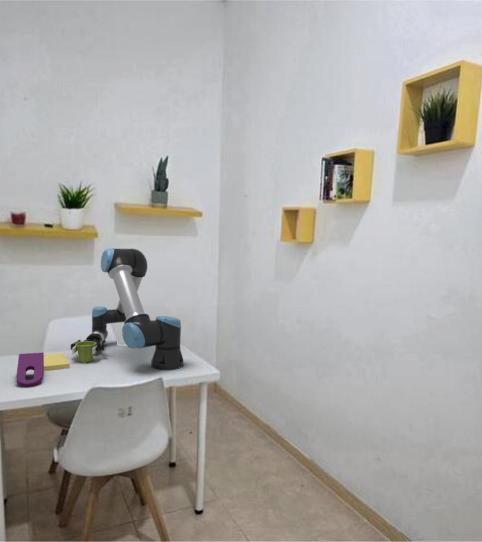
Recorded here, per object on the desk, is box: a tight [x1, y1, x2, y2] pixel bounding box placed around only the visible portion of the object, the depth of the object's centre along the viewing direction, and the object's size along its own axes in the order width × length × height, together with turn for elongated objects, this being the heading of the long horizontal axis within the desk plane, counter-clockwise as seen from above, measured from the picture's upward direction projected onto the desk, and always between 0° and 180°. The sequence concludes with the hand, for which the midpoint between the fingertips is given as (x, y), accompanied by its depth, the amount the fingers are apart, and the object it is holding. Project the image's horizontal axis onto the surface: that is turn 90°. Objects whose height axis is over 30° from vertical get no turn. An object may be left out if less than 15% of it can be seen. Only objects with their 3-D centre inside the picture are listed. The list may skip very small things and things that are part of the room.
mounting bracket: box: [15, 352, 45, 388], centre depth 174 cm, size 9×8×18 cm
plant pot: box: [75, 340, 96, 364], centre depth 202 cm, size 9×9×9 cm
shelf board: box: [44, 352, 71, 372], centre depth 196 cm, size 20×12×2 cm, turn 31°
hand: (83, 351), depth 197 cm, fingers closed on plant pot, 8 cm apart
